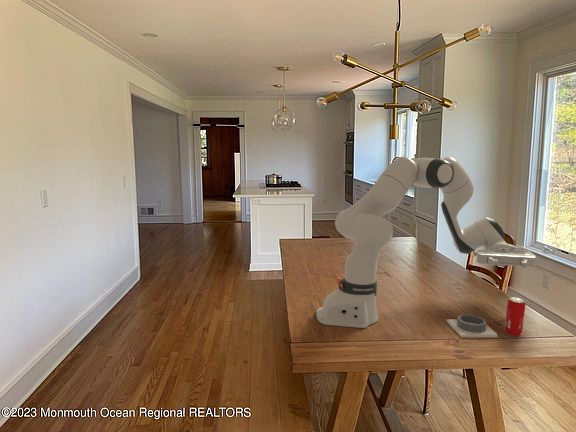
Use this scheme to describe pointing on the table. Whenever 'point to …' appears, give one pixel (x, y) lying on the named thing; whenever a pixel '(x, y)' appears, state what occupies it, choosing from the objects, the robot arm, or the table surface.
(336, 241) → the table surface
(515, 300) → the beverage can
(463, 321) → the mount
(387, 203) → the robot arm
